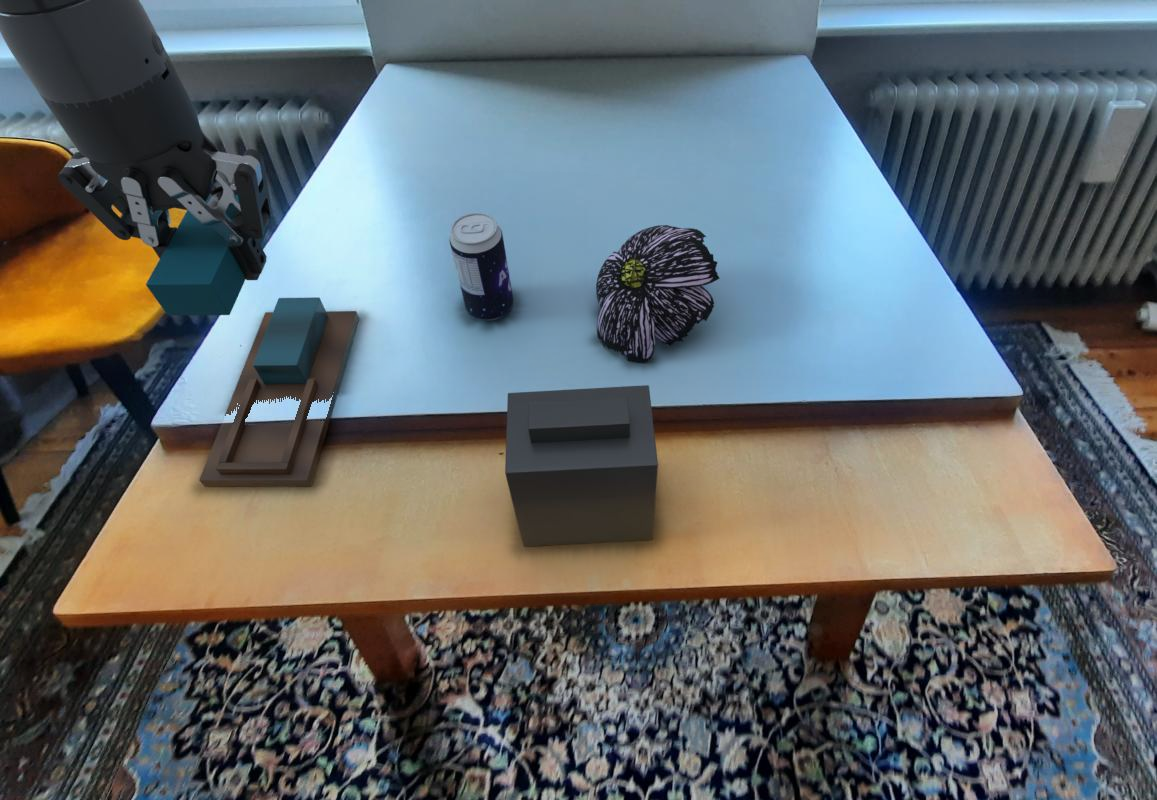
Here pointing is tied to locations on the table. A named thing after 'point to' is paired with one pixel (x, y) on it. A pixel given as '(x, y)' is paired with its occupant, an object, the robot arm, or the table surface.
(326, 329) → the brown flat rectangular board
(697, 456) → the table surface
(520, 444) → the pad stand
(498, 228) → the beverage can
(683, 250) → the decorative flower
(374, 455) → the table surface
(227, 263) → the back pad
